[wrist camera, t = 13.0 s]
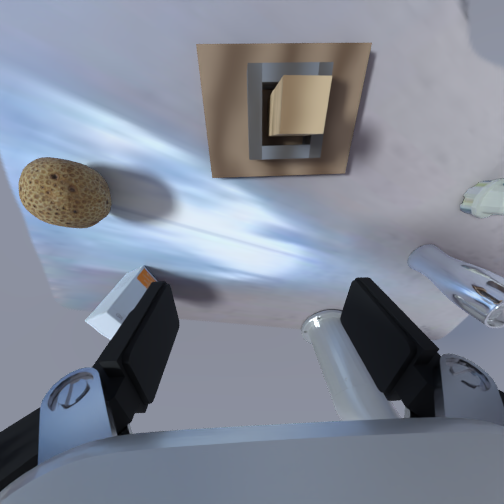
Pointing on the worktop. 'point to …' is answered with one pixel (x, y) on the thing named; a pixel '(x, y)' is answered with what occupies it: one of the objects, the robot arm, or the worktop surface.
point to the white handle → (485, 199)
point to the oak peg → (298, 106)
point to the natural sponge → (64, 193)
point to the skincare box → (120, 302)
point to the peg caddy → (256, 98)
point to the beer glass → (463, 283)
